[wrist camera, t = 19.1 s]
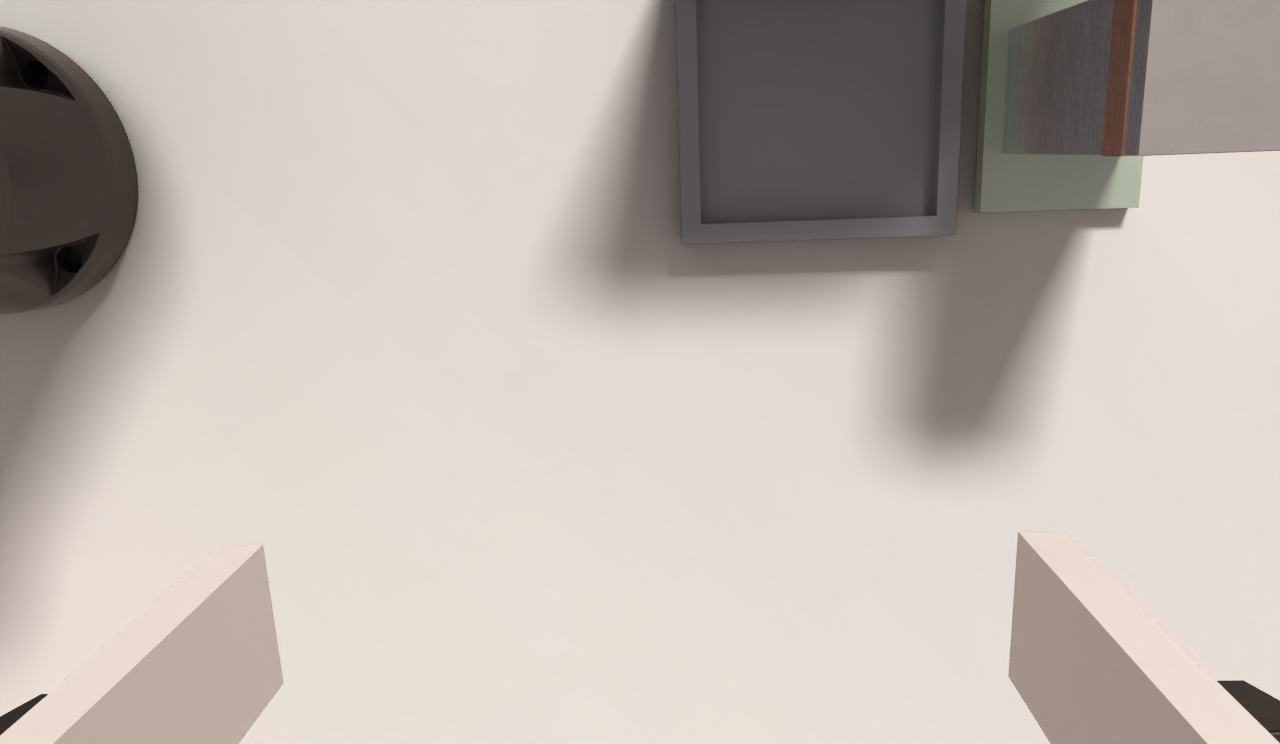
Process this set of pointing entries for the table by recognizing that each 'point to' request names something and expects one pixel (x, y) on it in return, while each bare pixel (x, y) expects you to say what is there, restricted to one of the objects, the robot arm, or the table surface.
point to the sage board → (1037, 175)
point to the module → (1145, 79)
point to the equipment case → (818, 118)
